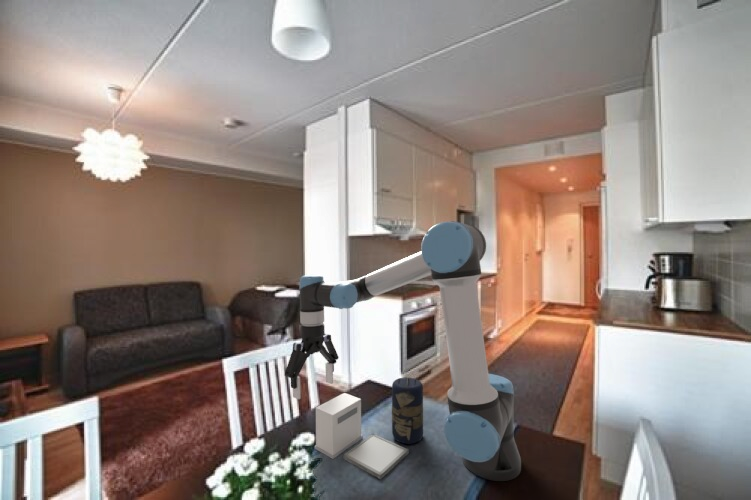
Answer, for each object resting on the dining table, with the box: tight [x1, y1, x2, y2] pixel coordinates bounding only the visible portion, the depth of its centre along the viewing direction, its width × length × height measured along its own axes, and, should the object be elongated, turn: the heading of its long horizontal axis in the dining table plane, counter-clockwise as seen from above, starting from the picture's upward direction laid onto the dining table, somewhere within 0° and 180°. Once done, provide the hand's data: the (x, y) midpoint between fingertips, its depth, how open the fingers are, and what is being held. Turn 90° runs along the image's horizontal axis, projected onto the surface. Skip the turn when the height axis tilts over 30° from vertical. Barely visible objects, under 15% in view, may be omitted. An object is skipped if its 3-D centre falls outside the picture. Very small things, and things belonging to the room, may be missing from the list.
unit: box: [314, 392, 364, 460], centre depth 97 cm, size 8×13×12 cm, turn 142°
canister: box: [391, 377, 424, 445], centre depth 100 cm, size 10×10×18 cm
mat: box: [342, 433, 410, 480], centre depth 91 cm, size 13×13×1 cm
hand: (313, 389), depth 104 cm, fingers open, 13 cm apart
